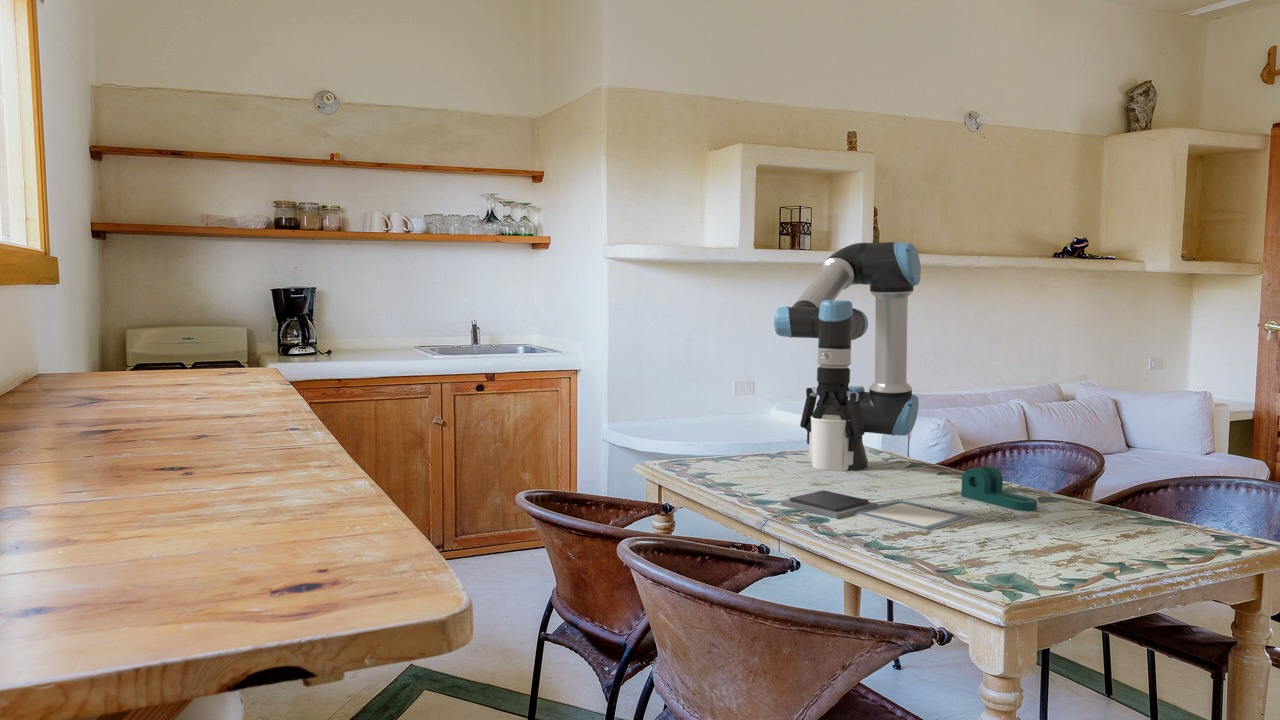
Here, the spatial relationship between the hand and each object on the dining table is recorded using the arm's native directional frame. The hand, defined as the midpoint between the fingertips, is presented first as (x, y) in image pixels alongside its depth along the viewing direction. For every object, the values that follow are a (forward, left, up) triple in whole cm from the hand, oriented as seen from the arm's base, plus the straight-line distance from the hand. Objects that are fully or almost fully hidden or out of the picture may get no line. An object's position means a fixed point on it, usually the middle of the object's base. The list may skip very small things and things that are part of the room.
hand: (830, 461), depth 208 cm
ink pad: (0, 0, -11) cm, 11 cm away
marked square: (-8, +17, -11) cm, 22 cm away
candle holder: (0, 0, -2) cm, 2 cm away
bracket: (-37, +24, -11) cm, 46 cm away
